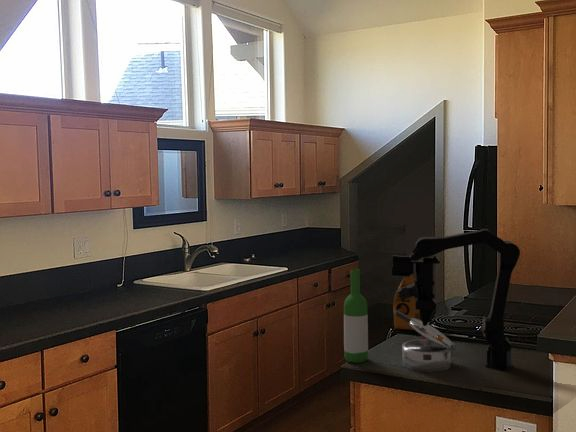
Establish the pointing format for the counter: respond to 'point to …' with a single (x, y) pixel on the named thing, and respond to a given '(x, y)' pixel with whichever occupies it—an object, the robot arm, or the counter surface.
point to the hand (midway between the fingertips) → (424, 325)
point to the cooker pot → (425, 356)
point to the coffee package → (405, 306)
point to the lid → (427, 331)
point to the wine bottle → (355, 323)
